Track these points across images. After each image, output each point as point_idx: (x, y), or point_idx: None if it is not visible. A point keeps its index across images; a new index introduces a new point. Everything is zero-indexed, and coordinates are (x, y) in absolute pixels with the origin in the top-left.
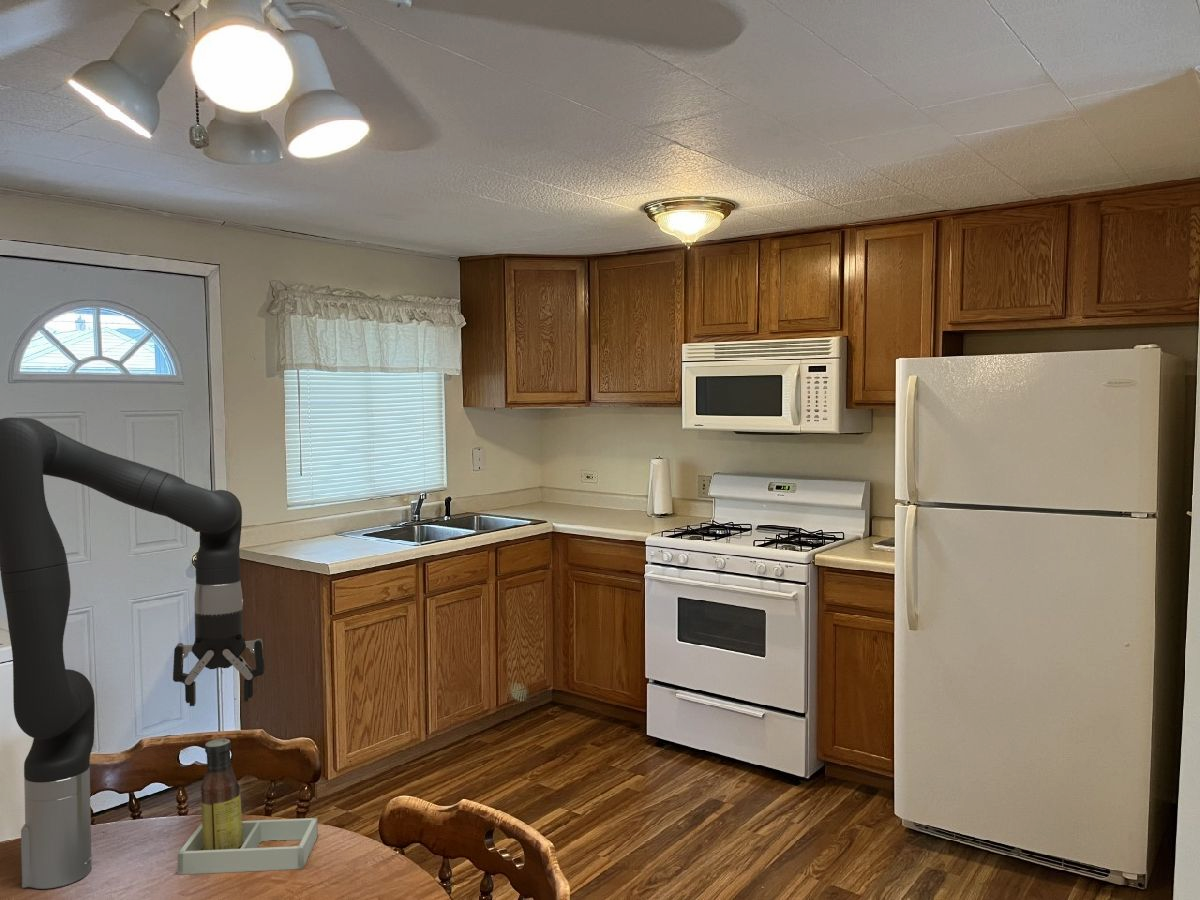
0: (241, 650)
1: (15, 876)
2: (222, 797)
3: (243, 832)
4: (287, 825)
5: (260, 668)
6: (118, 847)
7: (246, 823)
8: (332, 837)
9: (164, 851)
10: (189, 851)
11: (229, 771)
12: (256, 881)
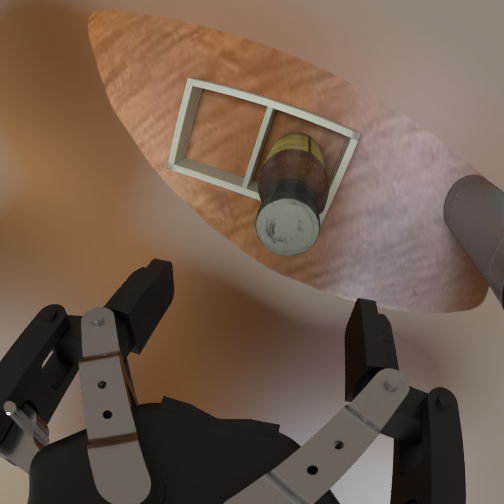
0: (54, 447)
1: None
2: (290, 151)
3: None
4: (207, 173)
5: (39, 325)
6: (411, 247)
7: None
8: (162, 154)
9: (367, 209)
10: (344, 133)
11: (270, 182)
12: (257, 65)
